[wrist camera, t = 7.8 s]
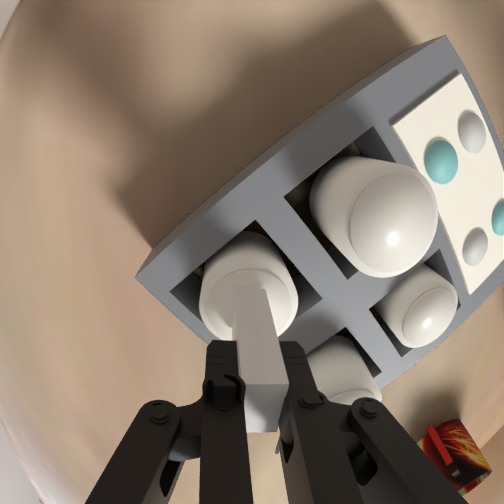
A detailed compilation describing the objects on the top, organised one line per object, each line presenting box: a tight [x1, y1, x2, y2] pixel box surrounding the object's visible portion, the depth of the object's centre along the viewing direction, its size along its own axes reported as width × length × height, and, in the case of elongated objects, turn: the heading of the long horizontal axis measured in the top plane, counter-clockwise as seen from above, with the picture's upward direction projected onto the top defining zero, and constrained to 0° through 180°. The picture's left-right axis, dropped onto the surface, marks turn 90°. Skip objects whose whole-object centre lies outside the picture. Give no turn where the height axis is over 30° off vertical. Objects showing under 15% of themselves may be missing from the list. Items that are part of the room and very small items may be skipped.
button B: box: [306, 336, 382, 405], centre depth 19 cm, size 5×5×5 cm
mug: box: [417, 419, 492, 496], centre depth 29 cm, size 10×14×12 cm
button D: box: [199, 231, 298, 341], centre depth 18 cm, size 5×5×5 cm
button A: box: [373, 263, 458, 348], centre depth 19 cm, size 5×5×5 cm
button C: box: [309, 156, 438, 278], centre depth 14 cm, size 5×5×5 cm
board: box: [135, 35, 504, 390], centre depth 19 cm, size 24×19×5 cm
